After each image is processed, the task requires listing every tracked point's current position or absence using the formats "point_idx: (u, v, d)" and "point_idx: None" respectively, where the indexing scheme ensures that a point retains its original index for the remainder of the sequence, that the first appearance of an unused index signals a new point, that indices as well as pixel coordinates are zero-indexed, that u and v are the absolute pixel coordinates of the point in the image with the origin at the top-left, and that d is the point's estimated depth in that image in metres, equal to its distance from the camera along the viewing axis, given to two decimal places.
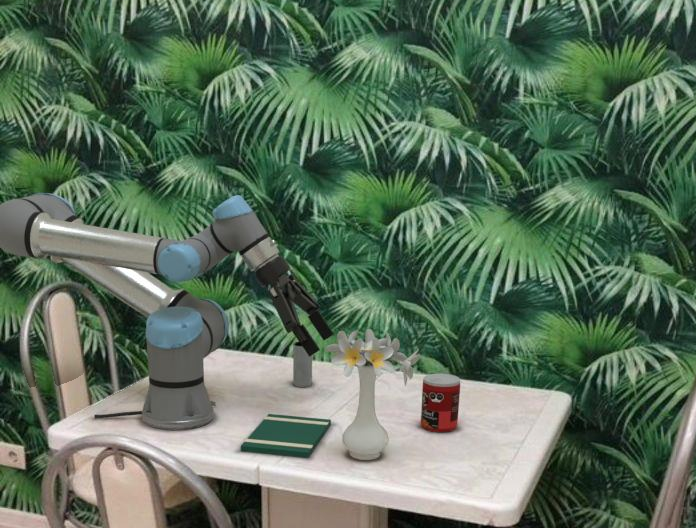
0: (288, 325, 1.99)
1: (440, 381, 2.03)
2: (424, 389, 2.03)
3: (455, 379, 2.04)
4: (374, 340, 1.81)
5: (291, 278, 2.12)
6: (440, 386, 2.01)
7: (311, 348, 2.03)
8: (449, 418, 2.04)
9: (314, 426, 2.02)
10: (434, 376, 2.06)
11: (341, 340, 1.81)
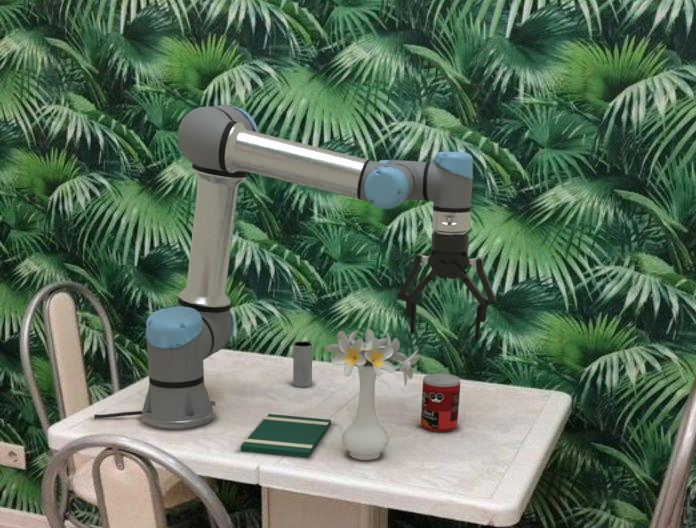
0: None
1: (440, 381, 2.03)
2: (424, 389, 2.03)
3: (455, 379, 2.04)
4: (374, 340, 1.81)
5: (476, 262, 1.93)
6: (440, 386, 2.01)
7: None
8: (449, 418, 2.04)
9: (314, 426, 2.02)
10: (434, 376, 2.06)
11: (341, 340, 1.81)
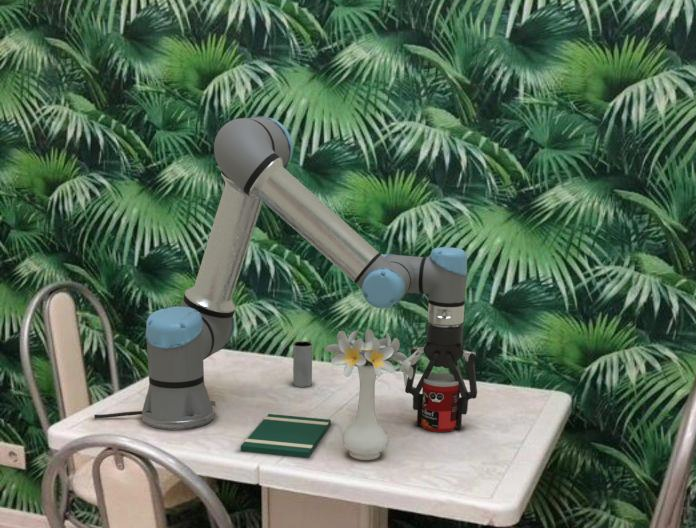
0: None
1: (440, 381, 2.03)
2: (424, 389, 2.03)
3: None
4: (374, 340, 1.81)
5: (469, 356, 2.00)
6: (441, 386, 2.01)
7: None
8: (449, 418, 2.04)
9: (314, 426, 2.02)
10: (434, 376, 2.06)
11: (341, 340, 1.81)
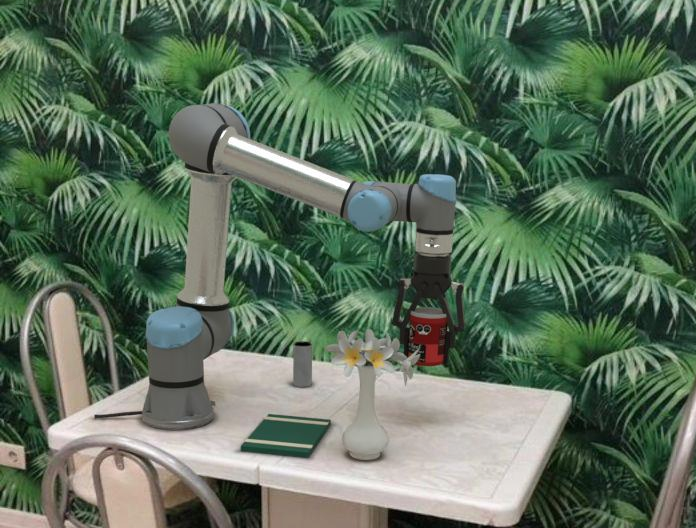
0: None
1: (427, 313, 1.98)
2: (411, 321, 1.99)
3: None
4: (374, 340, 1.81)
5: (457, 287, 1.96)
6: (428, 318, 1.96)
7: None
8: (436, 351, 1.99)
9: (314, 426, 2.02)
10: (422, 309, 2.02)
11: (341, 340, 1.81)
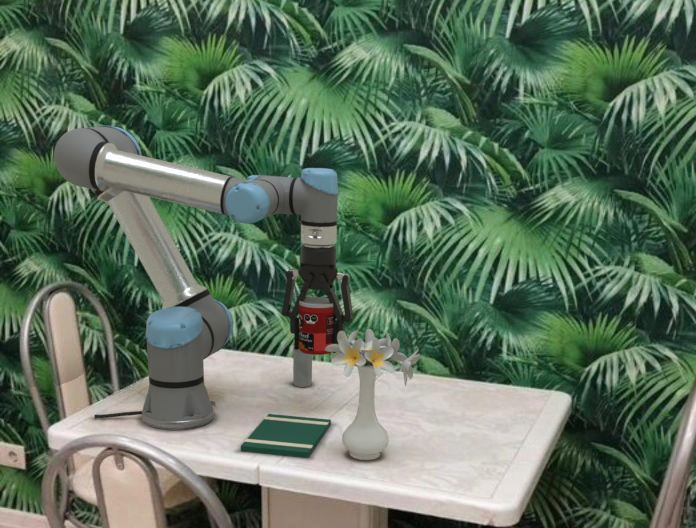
0: None
1: (315, 303, 2.04)
2: (299, 311, 2.04)
3: None
4: (374, 340, 1.81)
5: None
6: (314, 308, 2.02)
7: None
8: (324, 340, 2.05)
9: (314, 426, 2.02)
10: (311, 299, 2.07)
11: (341, 340, 1.81)
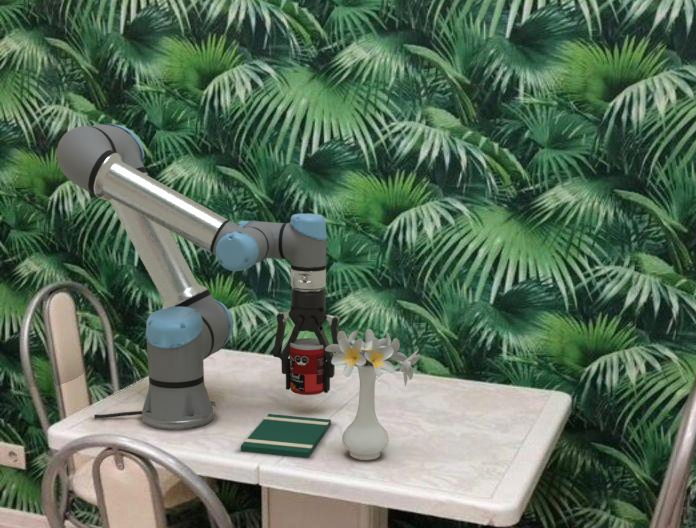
0: None
1: (306, 345, 2.08)
2: (290, 353, 2.08)
3: None
4: (374, 340, 1.81)
5: None
6: (305, 350, 2.06)
7: None
8: (315, 381, 2.09)
9: (314, 426, 2.02)
10: (302, 340, 2.11)
11: (341, 340, 1.81)
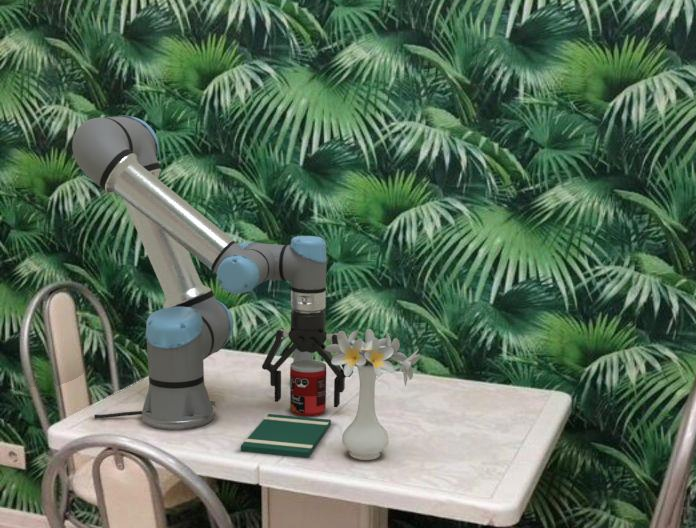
0: None
1: (306, 367, 2.10)
2: (291, 375, 2.10)
3: (321, 365, 2.11)
4: (374, 340, 1.81)
5: None
6: (305, 372, 2.07)
7: None
8: (315, 403, 2.10)
9: (314, 426, 2.02)
10: (302, 362, 2.13)
11: (341, 340, 1.81)
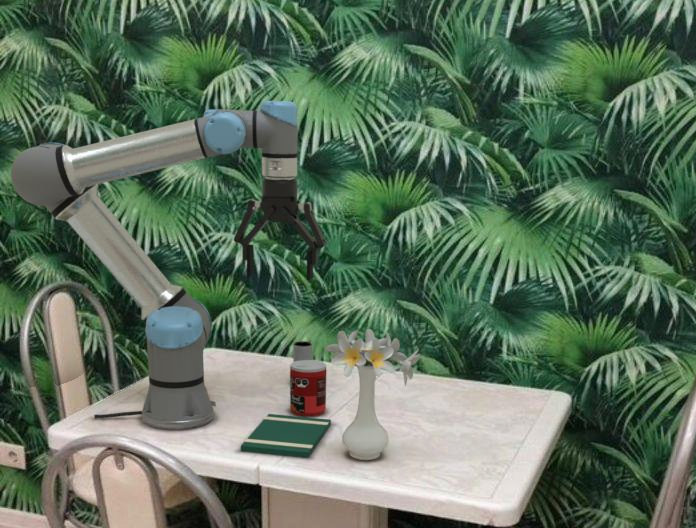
0: None
1: (306, 367, 2.10)
2: (291, 375, 2.10)
3: (321, 365, 2.11)
4: (374, 340, 1.81)
5: None
6: (305, 372, 2.07)
7: None
8: (315, 403, 2.10)
9: (314, 426, 2.02)
10: (302, 362, 2.13)
11: (341, 340, 1.81)
